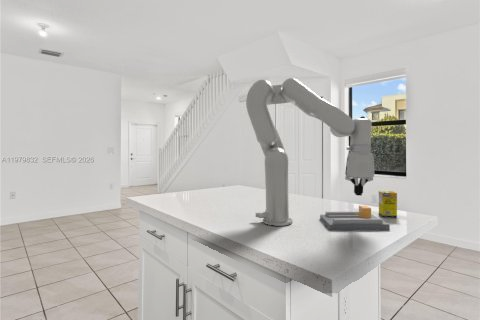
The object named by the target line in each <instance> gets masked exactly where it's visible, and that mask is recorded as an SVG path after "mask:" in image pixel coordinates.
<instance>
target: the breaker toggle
mask: <svg viewBox="0 0 480 320" xmlns="http://www.w3.org/2000/svg"><path fill="white" fill-rule="evenodd" d="M358 211H359V218H371V214H372V208H371V207H370V206H368V205H358Z"/></svg>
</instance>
